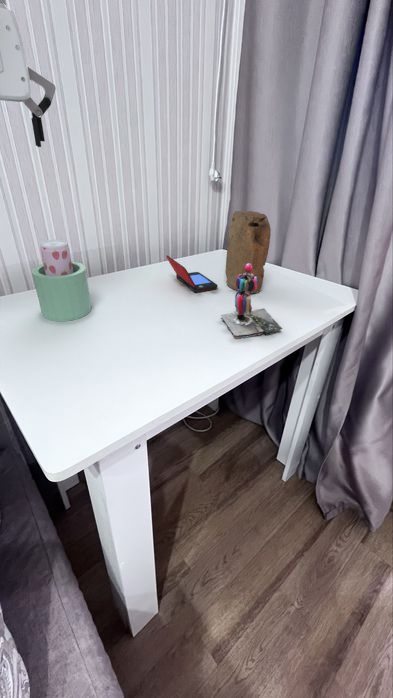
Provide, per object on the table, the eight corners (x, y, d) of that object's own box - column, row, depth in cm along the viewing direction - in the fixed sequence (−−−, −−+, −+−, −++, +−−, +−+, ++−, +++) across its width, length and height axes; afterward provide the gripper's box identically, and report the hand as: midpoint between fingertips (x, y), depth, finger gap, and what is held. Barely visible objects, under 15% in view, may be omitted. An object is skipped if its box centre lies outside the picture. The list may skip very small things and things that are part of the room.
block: (221, 283, 95) (228, 209, 85) (242, 279, 99) (251, 208, 88) (244, 297, 88) (254, 218, 77) (266, 292, 91) (278, 216, 80)
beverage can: (58, 316, 73) (44, 248, 65) (49, 306, 77) (35, 241, 69) (83, 309, 77) (72, 244, 68) (73, 301, 80) (62, 237, 72)
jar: (43, 324, 71) (32, 280, 66) (41, 304, 79) (31, 263, 74) (94, 317, 75) (88, 274, 70) (87, 298, 83) (81, 259, 78)
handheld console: (219, 289, 91) (221, 263, 87) (183, 295, 87) (184, 268, 83) (198, 274, 101) (199, 250, 97) (165, 279, 96) (165, 254, 92)
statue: (235, 343, 70) (234, 277, 61) (220, 322, 77) (218, 260, 69) (282, 333, 72) (288, 267, 63) (263, 313, 79) (267, 252, 71)
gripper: (-118, -35, 38) (-64, 142, 47) (46, -1, 44) (65, 148, 53) (-100, -13, 43) (-55, 141, 52) (43, 14, 50) (61, 147, 59)
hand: (5, 145), depth 53 cm, fingers open, 9 cm apart
